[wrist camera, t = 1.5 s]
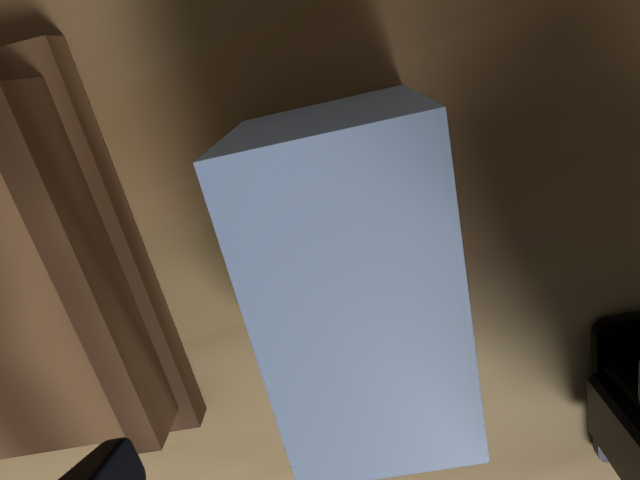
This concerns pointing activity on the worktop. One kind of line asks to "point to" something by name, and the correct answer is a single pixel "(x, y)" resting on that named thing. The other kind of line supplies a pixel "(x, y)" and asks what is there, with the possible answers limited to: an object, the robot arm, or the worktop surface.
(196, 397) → the walnut rack
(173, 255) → the worktop surface
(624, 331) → the robot arm
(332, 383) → the pale blue cuboid
